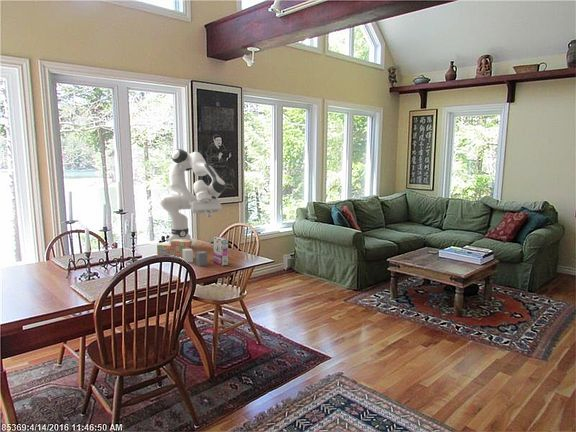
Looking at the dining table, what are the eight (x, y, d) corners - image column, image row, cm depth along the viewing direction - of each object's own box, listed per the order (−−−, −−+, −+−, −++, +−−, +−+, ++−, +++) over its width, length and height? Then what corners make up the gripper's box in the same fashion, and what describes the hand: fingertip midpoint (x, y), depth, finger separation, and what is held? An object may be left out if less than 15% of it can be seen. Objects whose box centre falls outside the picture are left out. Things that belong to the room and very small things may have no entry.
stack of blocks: (157, 258, 265) (156, 240, 264) (160, 256, 272) (160, 238, 270) (189, 260, 264) (188, 241, 262) (192, 257, 270) (191, 239, 268)
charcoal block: (196, 264, 254) (196, 251, 252) (203, 263, 256) (203, 250, 255) (199, 266, 250) (199, 253, 248) (206, 265, 252) (206, 252, 251)
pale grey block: (182, 261, 260) (182, 249, 259) (190, 260, 263) (189, 248, 262) (185, 263, 256) (185, 250, 255) (192, 262, 259) (192, 249, 257)
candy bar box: (228, 265, 253) (228, 239, 251) (221, 266, 250) (221, 240, 248) (220, 261, 262) (220, 236, 259) (213, 262, 259) (212, 237, 256)
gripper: (189, 197, 265) (195, 214, 258) (219, 196, 275) (225, 212, 269) (187, 204, 269) (192, 220, 262) (217, 202, 280) (222, 218, 273)
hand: (209, 216), depth 266 cm, fingers closed
